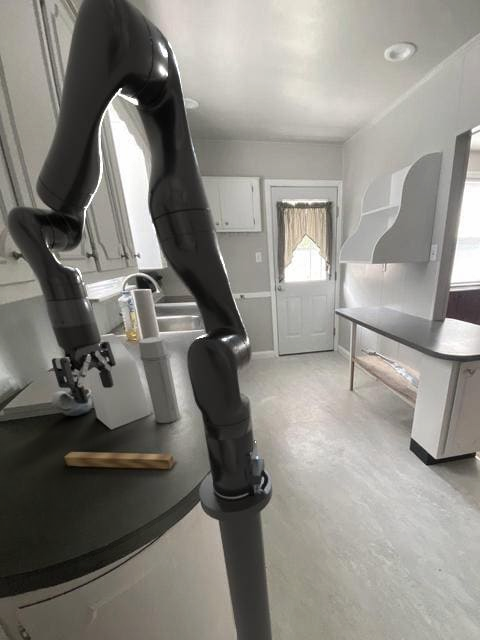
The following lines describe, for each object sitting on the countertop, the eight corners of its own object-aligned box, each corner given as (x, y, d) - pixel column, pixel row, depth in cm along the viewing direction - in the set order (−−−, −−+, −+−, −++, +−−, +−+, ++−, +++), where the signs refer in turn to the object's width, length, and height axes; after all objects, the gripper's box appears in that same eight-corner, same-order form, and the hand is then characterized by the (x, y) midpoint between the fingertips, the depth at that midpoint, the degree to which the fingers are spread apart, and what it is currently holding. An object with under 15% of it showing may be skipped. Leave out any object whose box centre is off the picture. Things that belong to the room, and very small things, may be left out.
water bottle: (150, 419, 94) (132, 340, 84) (175, 410, 99) (160, 335, 89) (162, 430, 88) (144, 346, 78) (188, 420, 92) (173, 340, 83)
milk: (135, 404, 104) (116, 329, 94) (150, 414, 97) (132, 334, 87) (97, 417, 96) (71, 337, 86) (111, 429, 89) (85, 343, 79)
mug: (101, 405, 104) (93, 378, 101) (84, 423, 93) (74, 393, 89) (70, 408, 103) (61, 381, 99) (50, 426, 92) (38, 396, 88)
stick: (174, 463, 73) (172, 454, 72) (170, 469, 71) (168, 459, 70) (74, 460, 75) (70, 451, 74) (67, 466, 73) (63, 457, 72)
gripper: (63, 328, 54) (90, 409, 60) (113, 315, 67) (130, 382, 74) (25, 329, 55) (55, 409, 61) (82, 315, 68) (101, 382, 74)
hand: (96, 394), depth 67 cm, fingers open, 8 cm apart
